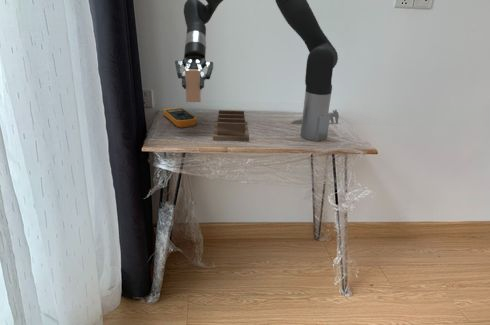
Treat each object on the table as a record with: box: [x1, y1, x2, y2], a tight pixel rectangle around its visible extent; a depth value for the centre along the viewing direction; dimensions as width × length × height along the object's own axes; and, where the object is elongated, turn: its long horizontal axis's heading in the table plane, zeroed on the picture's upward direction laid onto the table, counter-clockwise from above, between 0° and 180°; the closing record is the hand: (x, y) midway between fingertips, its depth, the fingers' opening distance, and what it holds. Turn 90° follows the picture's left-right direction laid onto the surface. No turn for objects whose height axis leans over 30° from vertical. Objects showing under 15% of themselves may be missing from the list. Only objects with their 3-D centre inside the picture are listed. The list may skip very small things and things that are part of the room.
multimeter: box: [163, 106, 198, 128], centre depth 148 cm, size 9×18×3 cm, turn 30°
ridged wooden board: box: [212, 109, 250, 142], centre depth 137 cm, size 19×13×6 cm
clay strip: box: [185, 69, 202, 103], centre depth 127 cm, size 2×5×11 cm, turn 92°
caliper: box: [290, 108, 340, 125], centre depth 152 cm, size 20×1×6 cm, turn 98°
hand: (192, 87), depth 125 cm, fingers closed on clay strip, 5 cm apart
